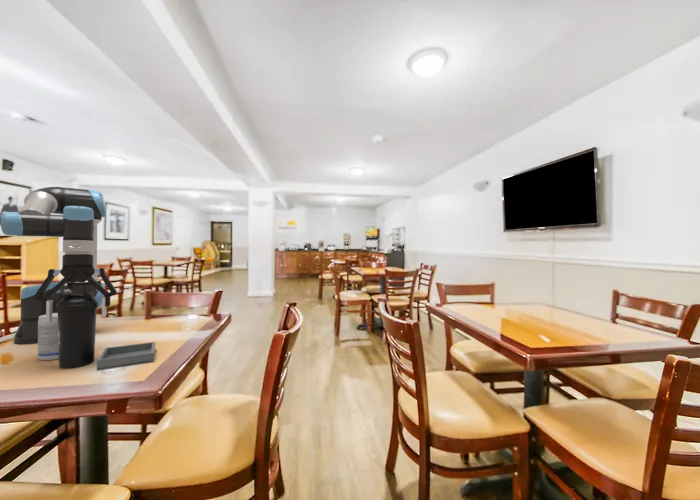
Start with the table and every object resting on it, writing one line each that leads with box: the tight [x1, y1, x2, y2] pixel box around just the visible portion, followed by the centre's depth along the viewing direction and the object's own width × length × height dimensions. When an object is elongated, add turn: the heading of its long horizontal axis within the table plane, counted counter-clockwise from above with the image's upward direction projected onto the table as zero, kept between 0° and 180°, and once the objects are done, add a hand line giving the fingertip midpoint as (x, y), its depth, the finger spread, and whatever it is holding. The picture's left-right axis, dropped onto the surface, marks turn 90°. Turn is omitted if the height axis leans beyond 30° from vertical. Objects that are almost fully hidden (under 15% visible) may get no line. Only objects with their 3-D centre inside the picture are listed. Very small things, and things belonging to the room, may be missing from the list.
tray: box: [96, 341, 156, 371], centre depth 104 cm, size 15×15×3 cm
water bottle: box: [56, 292, 99, 370], centre depth 99 cm, size 10×10×23 cm
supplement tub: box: [37, 313, 59, 361], centre depth 107 cm, size 10×10×15 cm
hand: (77, 319), depth 99 cm, fingers open, 13 cm apart
